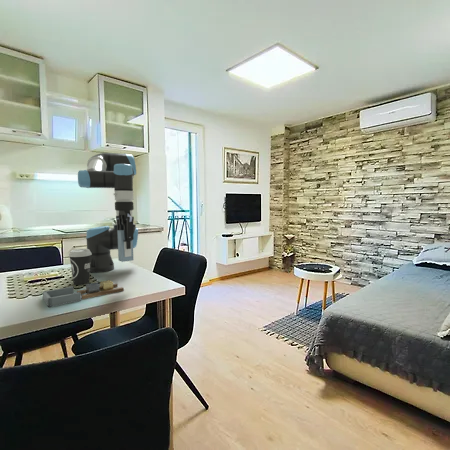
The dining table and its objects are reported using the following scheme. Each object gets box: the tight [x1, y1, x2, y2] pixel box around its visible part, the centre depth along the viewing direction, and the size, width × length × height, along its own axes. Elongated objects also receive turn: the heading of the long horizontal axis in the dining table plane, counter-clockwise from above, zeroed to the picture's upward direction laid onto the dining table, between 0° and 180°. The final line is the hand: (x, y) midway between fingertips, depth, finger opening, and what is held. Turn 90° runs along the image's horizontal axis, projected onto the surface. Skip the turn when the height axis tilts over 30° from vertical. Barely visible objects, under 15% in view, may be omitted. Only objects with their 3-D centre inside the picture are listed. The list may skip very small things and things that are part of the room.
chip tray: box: [42, 286, 82, 308], centre depth 111 cm, size 11×10×3 cm
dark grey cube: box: [85, 282, 100, 294], centre depth 118 cm, size 4×4×4 cm
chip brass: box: [99, 279, 114, 291], centre depth 122 cm, size 4×4×4 cm
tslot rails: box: [76, 283, 125, 300], centre depth 120 cm, size 8×16×1 cm, turn 131°
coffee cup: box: [68, 248, 92, 286], centre depth 134 cm, size 10×10×15 cm
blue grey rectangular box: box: [117, 230, 134, 263], centre depth 126 cm, size 4×5×13 cm
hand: (125, 255), depth 126 cm, fingers closed on blue grey rectangular box, 4 cm apart
